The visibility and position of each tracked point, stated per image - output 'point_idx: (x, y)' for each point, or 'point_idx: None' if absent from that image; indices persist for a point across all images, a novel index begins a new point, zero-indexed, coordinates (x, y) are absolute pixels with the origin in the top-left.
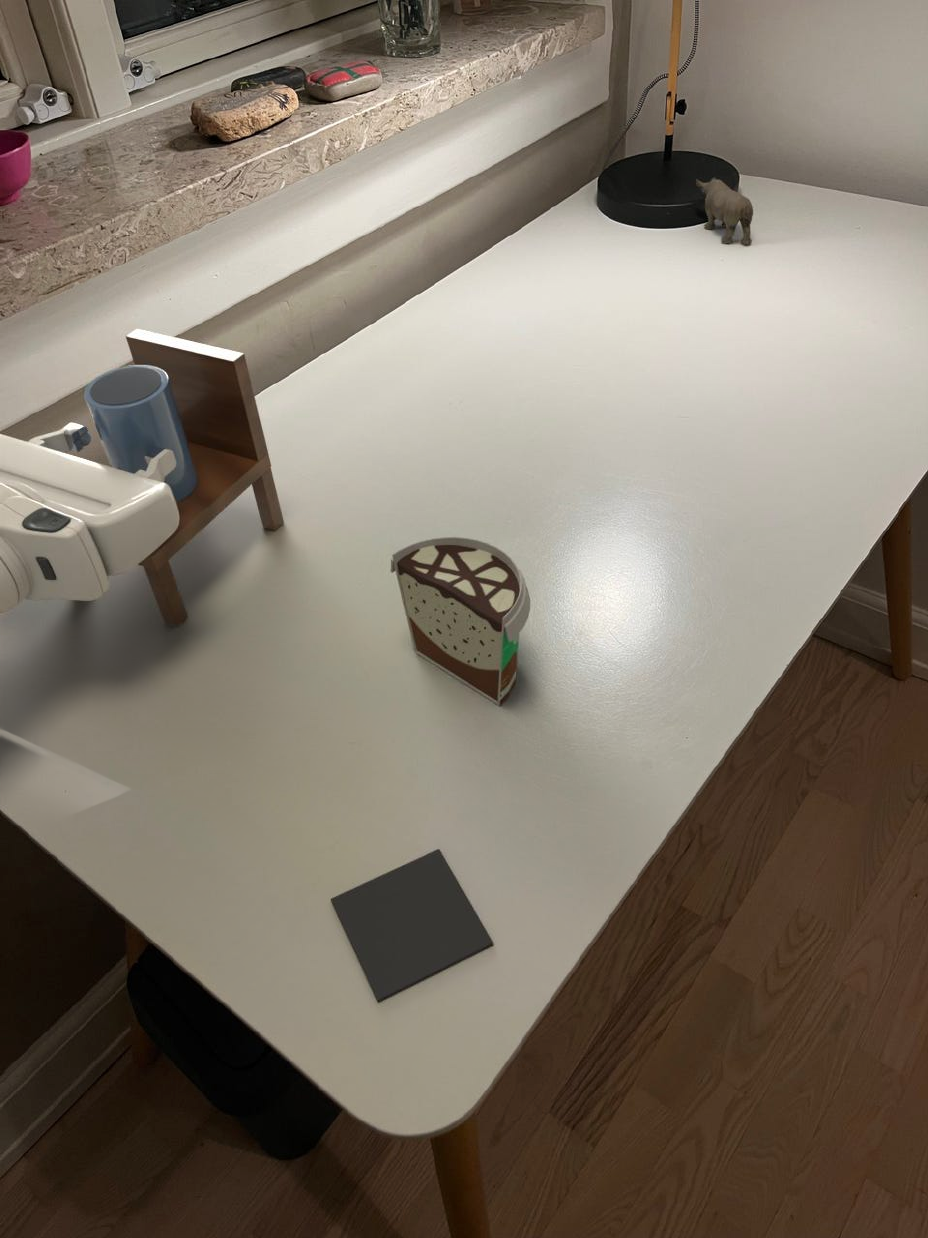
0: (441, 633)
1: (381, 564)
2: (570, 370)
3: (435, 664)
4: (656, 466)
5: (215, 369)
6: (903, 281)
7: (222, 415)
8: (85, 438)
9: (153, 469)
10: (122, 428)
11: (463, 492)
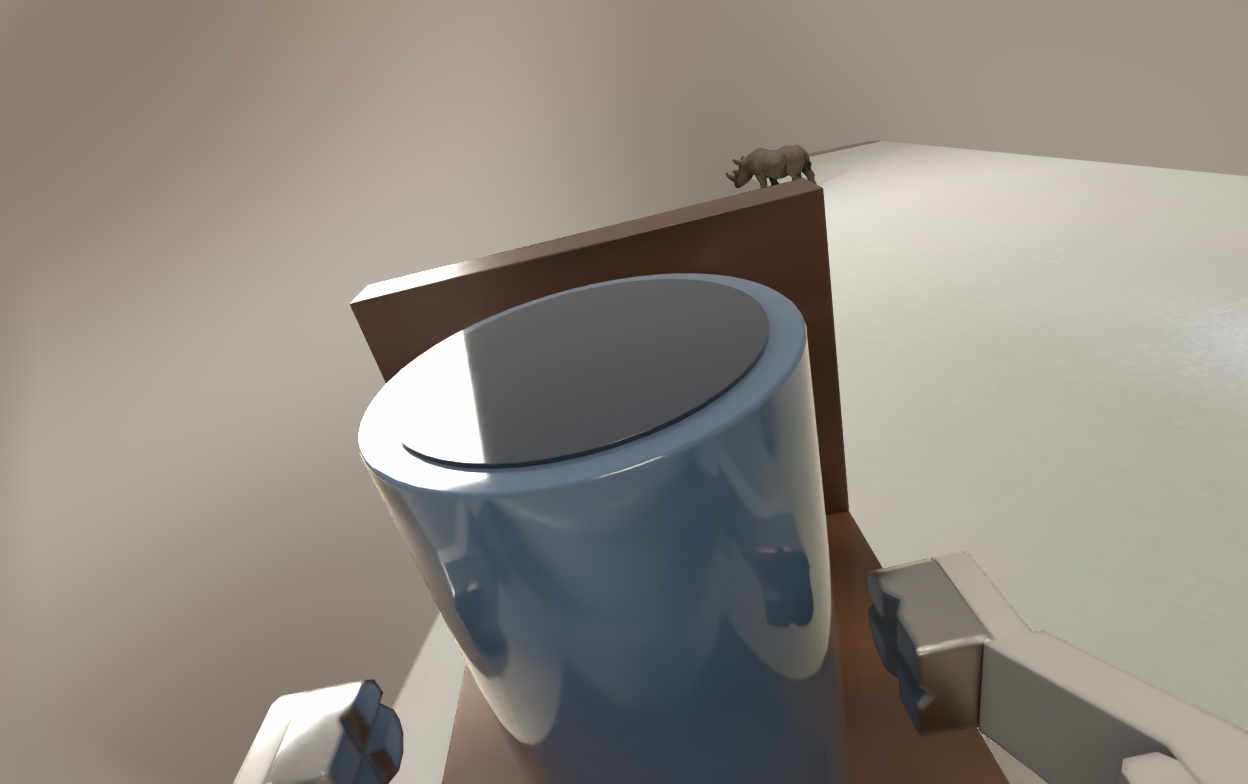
0: None
1: (1191, 614)
2: (854, 283)
3: None
4: (1155, 292)
5: (738, 257)
6: (975, 154)
7: None
8: (386, 740)
9: (1181, 705)
10: (735, 558)
11: (1025, 427)
